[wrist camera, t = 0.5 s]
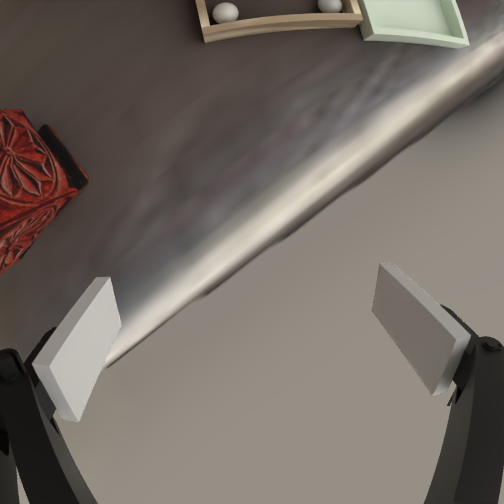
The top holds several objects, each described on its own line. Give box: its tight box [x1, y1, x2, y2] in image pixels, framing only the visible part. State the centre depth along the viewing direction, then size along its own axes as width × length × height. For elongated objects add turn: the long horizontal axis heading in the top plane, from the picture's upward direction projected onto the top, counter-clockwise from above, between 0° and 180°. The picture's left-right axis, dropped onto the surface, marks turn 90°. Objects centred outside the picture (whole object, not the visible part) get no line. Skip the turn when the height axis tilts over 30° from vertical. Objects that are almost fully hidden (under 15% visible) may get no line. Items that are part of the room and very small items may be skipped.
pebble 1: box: [212, 2, 239, 24], centre depth 29 cm, size 3×3×3 cm
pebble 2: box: [318, 0, 342, 13], centre depth 29 cm, size 3×3×3 cm
